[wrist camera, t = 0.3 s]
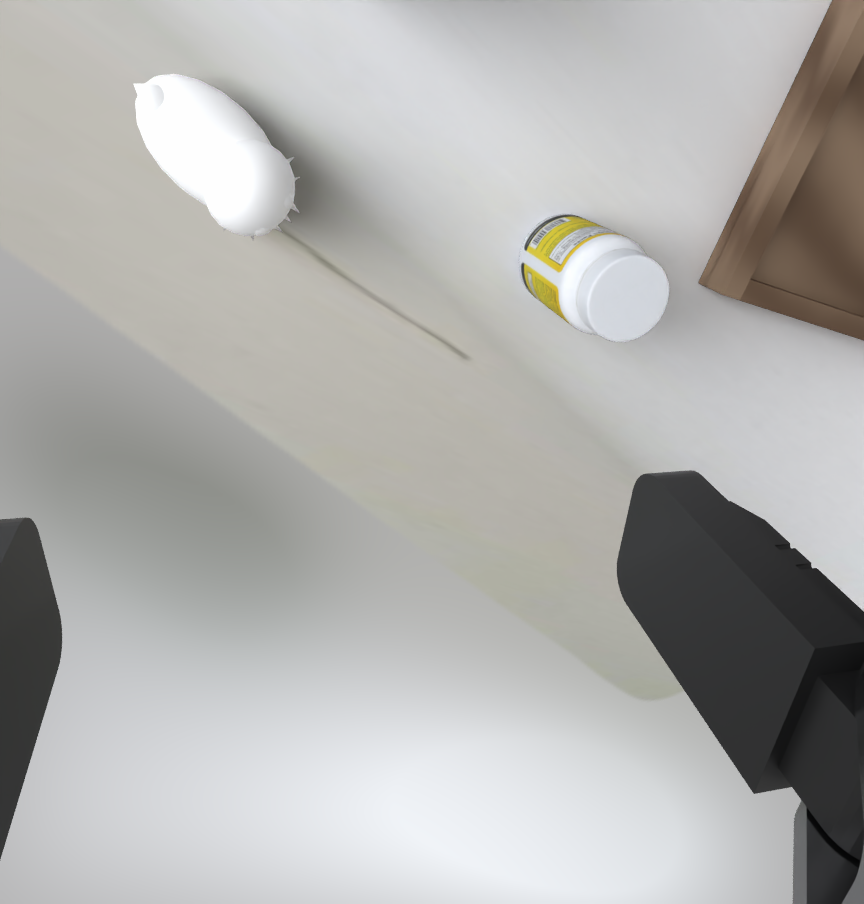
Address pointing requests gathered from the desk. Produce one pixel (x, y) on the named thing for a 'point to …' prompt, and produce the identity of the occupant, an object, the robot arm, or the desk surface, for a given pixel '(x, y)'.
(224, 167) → the toy creature
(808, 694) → the robot arm
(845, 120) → the walnut tray
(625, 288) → the supplement bottle
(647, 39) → the desk surface
